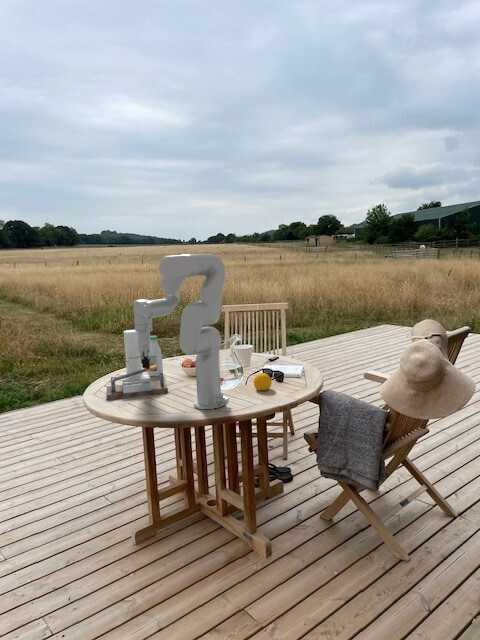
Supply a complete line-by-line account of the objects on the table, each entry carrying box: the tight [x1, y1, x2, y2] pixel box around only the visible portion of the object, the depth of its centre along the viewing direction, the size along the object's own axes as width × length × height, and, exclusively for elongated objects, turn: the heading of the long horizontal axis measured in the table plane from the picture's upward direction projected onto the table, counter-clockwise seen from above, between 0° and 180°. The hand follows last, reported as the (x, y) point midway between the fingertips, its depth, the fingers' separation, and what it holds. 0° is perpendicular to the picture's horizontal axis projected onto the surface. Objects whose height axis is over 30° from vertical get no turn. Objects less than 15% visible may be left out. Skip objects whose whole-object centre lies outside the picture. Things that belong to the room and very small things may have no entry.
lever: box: [112, 364, 158, 382], centre depth 202 cm, size 20×4×1 cm, turn 106°
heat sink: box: [110, 370, 165, 393], centre depth 202 cm, size 23×14×6 cm, turn 106°
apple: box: [253, 372, 272, 391], centre depth 198 cm, size 8×8×8 cm
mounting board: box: [106, 380, 169, 401], centre depth 203 cm, size 26×14×2 cm, turn 106°
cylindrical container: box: [123, 329, 143, 377], centre depth 217 cm, size 7×7×25 cm
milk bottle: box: [147, 335, 164, 377], centre depth 229 cm, size 8×8×20 cm
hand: (146, 367), depth 203 cm, fingers closed
